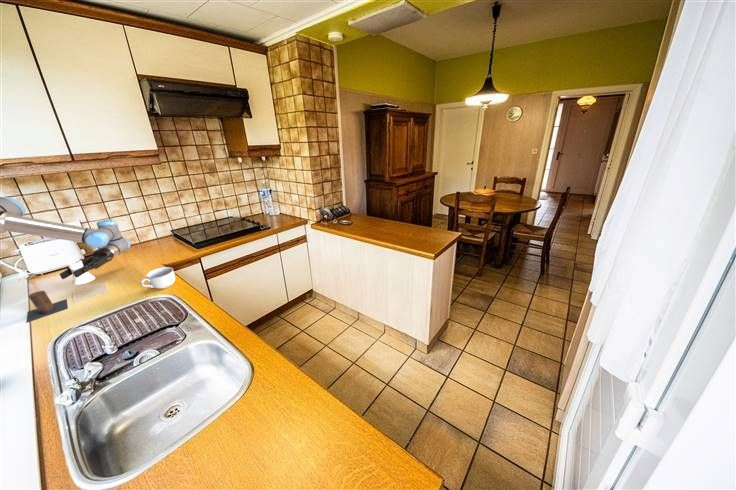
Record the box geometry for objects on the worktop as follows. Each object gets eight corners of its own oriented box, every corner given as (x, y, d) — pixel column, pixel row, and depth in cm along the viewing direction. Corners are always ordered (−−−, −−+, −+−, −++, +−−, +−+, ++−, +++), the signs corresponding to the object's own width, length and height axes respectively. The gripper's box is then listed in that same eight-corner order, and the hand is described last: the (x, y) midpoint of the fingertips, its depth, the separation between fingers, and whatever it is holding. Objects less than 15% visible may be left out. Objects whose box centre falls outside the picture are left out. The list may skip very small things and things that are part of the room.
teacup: (174, 277, 139) (168, 264, 136) (181, 284, 133) (176, 270, 129) (141, 290, 129) (135, 275, 126) (147, 297, 123) (141, 282, 120)
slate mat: (28, 313, 116) (27, 311, 116) (67, 300, 124) (66, 298, 124) (27, 324, 109) (26, 322, 108) (68, 310, 117) (67, 308, 116)
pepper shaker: (40, 311, 115) (28, 294, 112) (55, 306, 118) (44, 289, 115) (39, 315, 112) (27, 298, 109) (55, 310, 116) (44, 293, 112)
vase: (77, 286, 122) (66, 267, 118) (70, 283, 125) (59, 264, 121) (98, 278, 128) (88, 260, 124) (90, 275, 131) (80, 257, 127)
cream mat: (72, 293, 130) (71, 291, 130) (105, 282, 138) (104, 281, 138) (74, 305, 120) (73, 303, 120) (109, 293, 128) (108, 291, 128)
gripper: (127, 258, 143) (94, 280, 122) (89, 262, 140) (50, 285, 119) (121, 245, 140) (86, 265, 119) (83, 249, 137) (41, 271, 116)
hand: (68, 275), depth 119 cm, fingers closed on vase, 5 cm apart
